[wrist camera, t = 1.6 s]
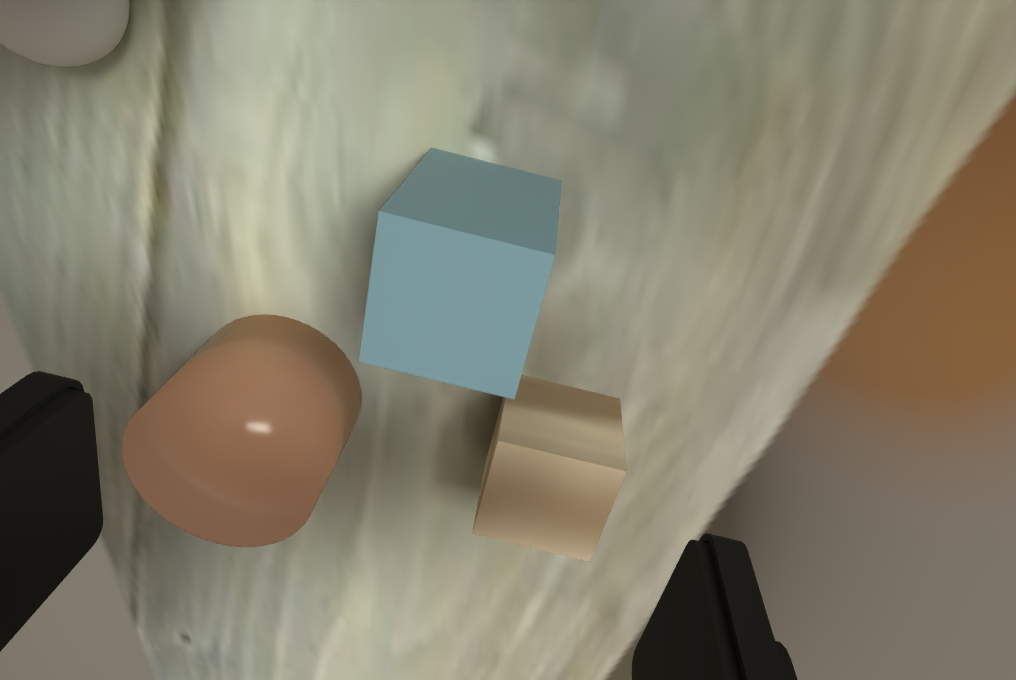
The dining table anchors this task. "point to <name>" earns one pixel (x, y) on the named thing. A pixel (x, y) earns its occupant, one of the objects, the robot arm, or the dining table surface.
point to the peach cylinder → (245, 432)
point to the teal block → (461, 272)
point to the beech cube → (552, 469)
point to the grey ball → (62, 29)
